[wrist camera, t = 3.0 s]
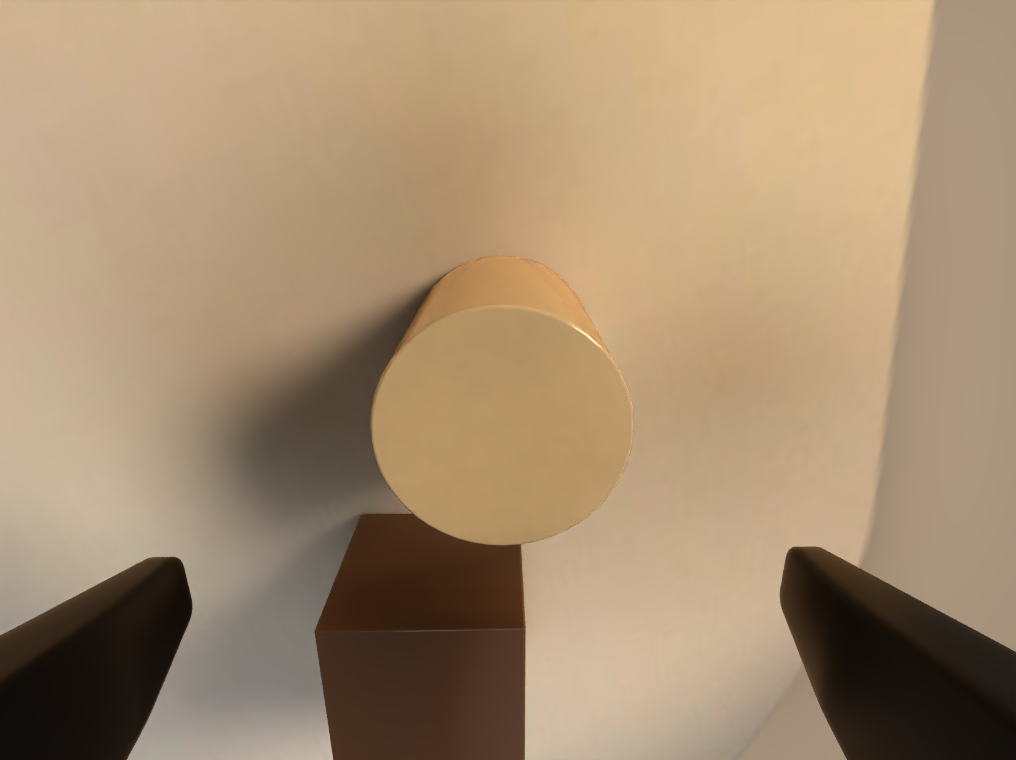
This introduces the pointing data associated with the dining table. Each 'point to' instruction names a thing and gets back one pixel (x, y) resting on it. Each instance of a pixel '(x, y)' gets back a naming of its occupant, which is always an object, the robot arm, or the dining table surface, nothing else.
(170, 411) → the dining table surface
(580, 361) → the cream cylinder
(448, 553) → the walnut block
